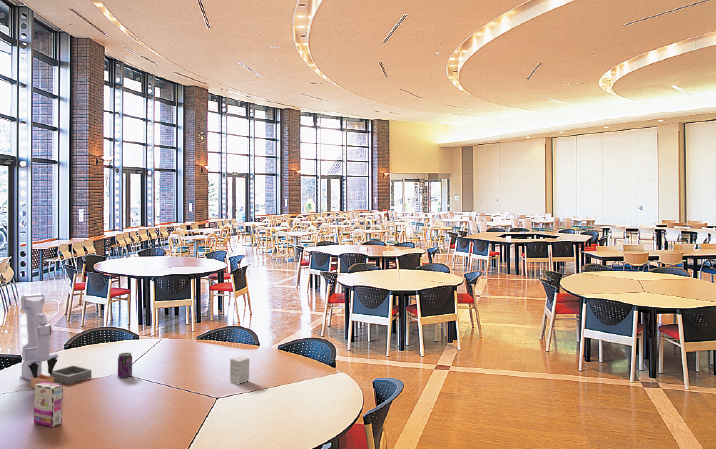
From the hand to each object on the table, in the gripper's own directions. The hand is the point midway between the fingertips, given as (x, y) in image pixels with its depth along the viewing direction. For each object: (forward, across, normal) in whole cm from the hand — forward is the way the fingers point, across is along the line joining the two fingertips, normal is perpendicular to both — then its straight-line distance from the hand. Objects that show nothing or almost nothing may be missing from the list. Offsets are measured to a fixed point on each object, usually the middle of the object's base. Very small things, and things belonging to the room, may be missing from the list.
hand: (42, 375), depth 257 cm
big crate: (+6, +15, 0) cm, 16 cm away
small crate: (+6, 0, 0) cm, 6 cm away
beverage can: (+6, +32, -20) cm, 38 cm away
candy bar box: (+6, -25, -44) cm, 51 cm away
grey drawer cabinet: (+6, +57, -78) cm, 97 cm away
